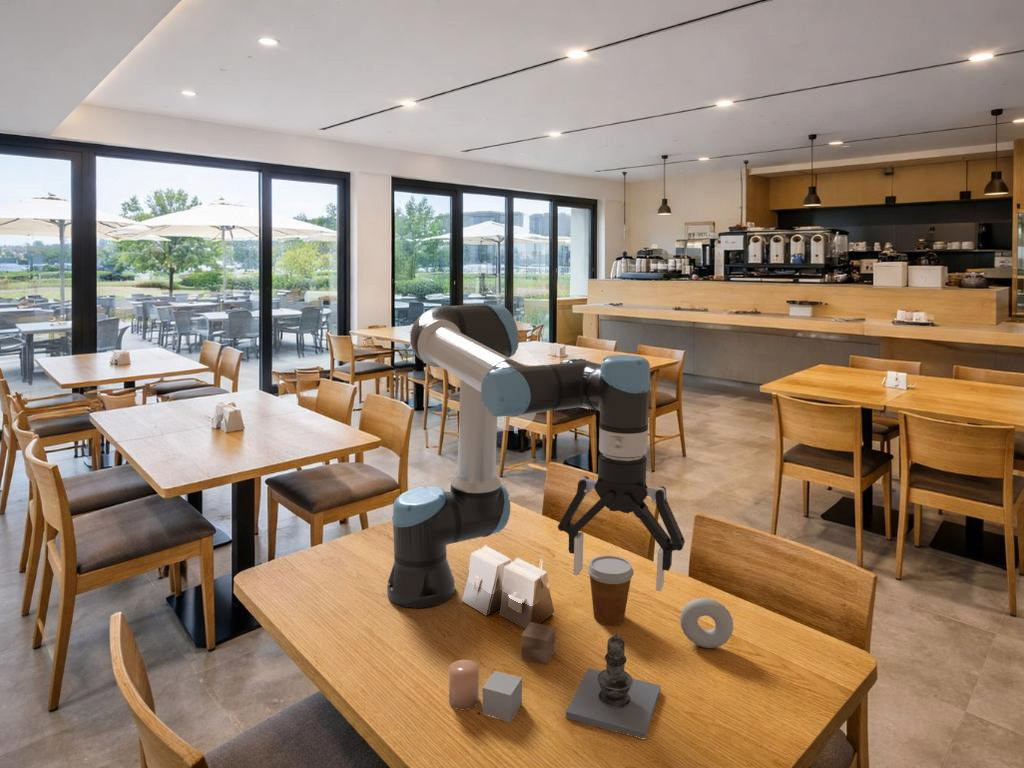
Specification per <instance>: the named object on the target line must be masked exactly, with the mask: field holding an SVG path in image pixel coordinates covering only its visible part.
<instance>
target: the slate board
mask: <svg viewBox="0 0 1024 768" xmlns="http://www.w3.org/2000/svg"><path fill="white" fill-rule="evenodd" d="M601 671H602V670H600V669H595V668H591V667H588V668H587V670H586V672H585V673H584V676H583V678H582V680H581V681H580V684H579V685H578V687H577V690H576V691H575V693H574V695H573V697H572V700H571V701H570V703H569V705H568V707H567V708H566V711H565V719H569V720H571V721H574V722H577V723H578V722H579V723H581V724H582V723H583V724H586V725H590V726H592V727H597V728H599V729H600V728H601V729H603V728H604V729H603V730H607V729H608V730H607V731H610V730H613V731H612V732H614V731H617V732H616V733H618V732H620V733H619V734H621V733H624V734H623V735H625V734H629V735H632V736H635V737H634V738H636V736H637V737H640V738H645V737H647V735H648V732H647V730H648V731H649V729H648V727H649V728H650V726H649V724H650V725H651V722H652V719H653V716H652V715H654V713H653V712H654V711H655V710H656V707H655V706H657V704H658V700H659V696H660V694H661V685H660V684H657V683H654V682H653V683H652V682H649V681H644V680H641V679H637V678H633V677H632V680H633V682H632V685H631V686H630V689H629V691H628V695H629V696H630V702H629V704H628V705H627V706H625V707H623V708H611V707H608V706H606V705H604V704H602V703H601V702H600V700H599V693H600V692H601V691H602V690H601V687H600V685H599V682H598V679H597V677H598V674H599V673H600V672H601ZM654 709H655V710H654ZM651 718H652V719H651ZM650 721H651V722H650ZM646 734H647V735H646ZM632 736H631V737H632ZM645 739H646V738H645Z"/></svg>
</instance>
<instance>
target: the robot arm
mask: <svg viewBox="0 0 1024 768" xmlns="http://www.w3.org/2000/svg"><path fill="white" fill-rule="evenodd" d="M409 339H410V340H409V341H410V344H411V348H412V351H413V353H414V354H415V355H416V357H417V358H418V359H419V360H420V361H422V362H423V363H425V364H426V365H428V366H430V367H433V368H442V369H444V370H446V371H447V372H448V373H450V374H452V375H453V376H455V377H456V378H458V379H459V380H460V381H459V411H458V413H459V414H458V448H457V449H458V450H457V452H458V453H457V473H456V474H455V475H454V476H453V477H452V478H451V479H450V490H448V491H445V490H444V488H441V487H439V486H434V485H430V486H425V485H423V486H419V487H413V488H411V489H408V490H406V491H405V492H403V493H401V494H400V495H398V497H396V499H395V500H394V501H393V502H394V503H393V507H392V509H393V510H392V518H391V519H392V526H393V528H392V530H393V557H394V562H393V565H392V567H391V571H390V575H389V576H388V581H387V585H386V587H387V590H386V591H387V592H386V593H387V594H388V595H387V594H386V595H387V597H388V600H389V601H390V602H392V603H393V604H395V605H397V606H401V607H403V606H404V607H405V608H408V607H412V608H411V609H422V608H421V607H426V608H431V607H430V606H432V607H435V606H438V604H439V605H441V604H444V603H445V602H448V600H450V599H451V598H452V597H453V595H454V594H455V591H456V589H455V586H456V585H455V583H456V582H455V578H454V576H453V573H452V569H451V567H450V564H449V561H448V559H447V545H450V544H455V543H459V542H464V541H465V542H466V541H470V540H474V539H478V538H485V537H488V536H491V535H494V534H497V533H499V532H501V531H502V530H503V529H504V528H505V527H506V526H507V524H508V522H509V519H510V515H511V500H509V498H510V497H509V496H510V495H509V492H508V489H507V488H506V487H505V486H504V485H503V484H502V480H501V479H500V477H498V476H497V475H496V457H497V437H498V436H497V435H498V418H500V417H501V418H502V417H509V418H510V417H511V418H513V417H519V416H522V415H529V414H536V413H543V412H544V413H545V412H551V411H553V412H554V411H559V410H568V409H574V408H588V409H591V410H593V411H598V412H599V429H598V430H599V433H598V435H599V436H598V437H599V438H598V441H599V442H598V450H599V452H600V454H599V455H598V462H597V464H598V466H597V467H598V469H597V470H598V471H597V480H592V479H590V478H589V476H587V475H585V476H583V477H582V478H581V479H579V481H578V482H577V489H576V493H575V494H574V497H573V499H572V500H571V502H570V504H569V506H568V507H567V510H566V511H565V513H564V515H563V516H562V518H561V520H560V522H559V523H558V526H557V529H558V530H559V531H560V532H565V533H566V534H567V535H568V552H569V554H572V555H573V575H574V576H580V575H579V574H580V573H581V572H582V570H583V567H584V534H585V533H584V532H583V531H581V530H582V529H583V528H584V527H585V526H586V525H587V524H588V523H589V522H590V521H591V520H592V519H593V518H594V517H595V516H596V515H597V514H599V513H600V512H601V511H602V510H603V509H604V508H605V507H606V508H607V509H608V510H609V512H620V513H623V514H630V513H632V512H633V514H634V516H635V517H636V518H637V519H639V520H640V521H641V523H642V524H643V525H644V527H645V528H646V530H647V531H648V532H649V533H650V536H652V537H653V539H654V540H655V541H656V543H657V544H658V546H659V549H658V550H657V558H656V559H657V560H656V561H657V564H656V582H655V591H658V592H662V589H663V588H664V583H665V571H670V569H671V567H672V565H673V564H672V563H673V562H672V560H673V551H679V552H681V551H682V550H683V548H684V545H685V542H686V541H685V538H684V535H683V533H682V531H681V529H680V527H679V525H678V522H677V520H676V518H675V515H674V514H673V511H672V509H671V506H670V504H669V502H668V500H667V499H668V498H667V488H666V487H665V486H663V485H662V486H659V487H657V488H656V487H655V488H654V487H653V488H652V487H651V488H650V487H648V485H647V461H648V459H647V457H646V454H647V453H648V441H649V440H648V438H649V429H648V428H649V417H650V415H649V412H650V410H649V409H650V396H651V391H650V390H651V387H652V383H651V364H650V362H649V360H648V359H647V358H645V357H643V356H638V355H630V354H627V355H626V354H618V355H617V354H615V355H608V356H606V357H604V358H603V359H602V361H601V363H597V362H593V361H590V360H586V359H583V358H566V359H564V360H562V361H561V362H559V363H553V364H540V365H539V364H538V365H524V364H522V363H520V362H518V361H516V360H513V359H511V357H513V356H515V354H516V352H517V350H518V348H519V341H520V339H519V331H518V324H517V322H516V321H515V319H514V317H513V314H512V313H511V312H510V310H509V309H508V308H506V307H504V306H502V305H500V304H499V305H498V304H488V303H487V304H486V303H483V304H481V303H479V304H467V305H466V304H464V305H463V304H462V305H441V306H437V307H436V306H434V307H432V308H430V309H428V310H426V311H425V312H423V313H422V314H420V316H418V317H417V319H416V320H415V322H414V323H413V325H412V328H411V331H410V337H409ZM593 489H594V490H595V493H596V494H597V495H598V497H599V499H598V500H597V501H596V503H594V504H593V505H592V506H591V507H590V508H589V509H588V510H587V511H586V512H585V513H584V514H583V515H582V516H581V517H580V518H579V519H578V520H577V521H576V522H575V523H572V520H573V519H574V516H575V514H576V512H577V511H578V509H579V508H580V505H581V504H582V502H583V500H584V498H586V495H587V494H589V493H590V492H592V491H593ZM647 497H649V498H651V501H652V502H653V503H654V504H655V506H656V509H657V511H658V514H659V515H660V517H661V520H662V522H663V524H664V527H665V529H666V531H667V532H666V531H665V529H664V528H663V527H662V525H661V524H660V523H659V522H658V520H657V519H656V517H655V516H654V515H653V513H652V512H651V511H650V509H649V506H648V505H647V503H646V502H645V499H646V498H647Z"/></svg>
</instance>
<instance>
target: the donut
mask: <svg viewBox="0 0 1024 768" xmlns="http://www.w3.org/2000/svg"><path fill="white" fill-rule="evenodd" d="M730 612H731V611H729V610H728V609H727V607H726V606H725V605H724V604H722V603H721V602H720V601H717V600H716V599H713V598H709V597H699V598H698V597H697V598H693V599H692V600H690V601H688V603H686V604H685V605H684V607H683V608H682V610H681V612H680V616H679V621H680V627H681V629H682V631H683V634H684V635H685V636H686V638H687V639H688V640H689V641H690V642H692V643H693V644H695V645H697V646H699V647H701V648H704V649H706V648H707V649H714V648H718V647H722V646H723V645H725V644H726V643H727V642H728V641H729V640H730V639H731V637H732V636H733V632H734V631H733V630H734V628H735V627H734V620H733V617H732V615H731V613H730ZM703 616H705V617H706V616H707V617H709V618H711V619H712V620H713V621H714V623H715V625H714V627H713V628H711V629H704V628H703V627H701V625H699V619H700V618H702V617H703Z"/></svg>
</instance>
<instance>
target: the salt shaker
mask: <svg viewBox="0 0 1024 768" xmlns="http://www.w3.org/2000/svg"><path fill="white" fill-rule="evenodd" d="M625 645H626V643H625V641H624V639H623V638H622V637H621V636H619V634H618V633H617V632H615V633H614V635H613V636H611V637H609V638H608V639H607V647H606V649H607V650H606V651H607V653H606V654H605V655H604V660H605V661H606V664H605V666H606V667H605V669H602V670H600V671H601V672H600V673H599V674H598V677H597V679H598V682H599V685H600V687H601V690H602V691H601V692H600V693H599V700H600V702H601V703H602V704H604V705H606V706H608V707H611V708H623V707H625V706H627V705H628V704H629V702H630V696H629V695H628V691H629V689H630V686H631V685H632V682H633V680H632V678H633V677H632V676H631V674H629V673H628V672H627V671H625V666H626V662H627V657H626V655H625V651H626V650H625Z"/></svg>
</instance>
